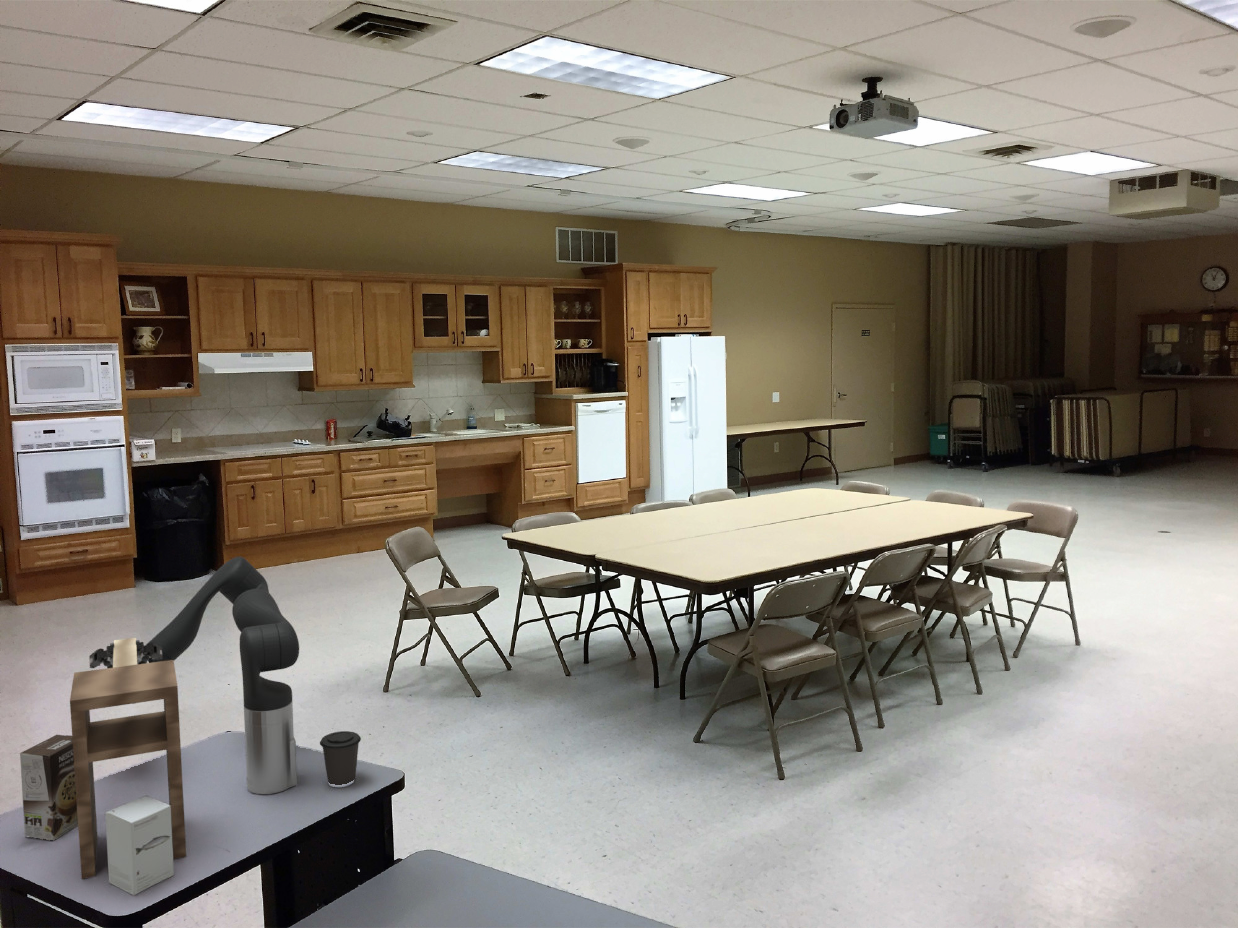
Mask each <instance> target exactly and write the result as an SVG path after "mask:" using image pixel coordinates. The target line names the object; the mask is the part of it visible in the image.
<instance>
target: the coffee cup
mask: <svg viewBox="0 0 1238 928" xmlns="http://www.w3.org/2000/svg"><path fill="white" fill-rule="evenodd" d="M361 741H362V737H361V736H360V734H359V733H357V732H354V731H350V730H347V731H346V730H344V731H335V732H332V733H328V734H326V735H324V736H323V737H321V740H320V741H319V745H320V747H321V748H322V751H323V759H324V765H325V766H324V767H325V770H326V778H327V779H326V780H327V783H328V782H329V783H330V784H335V785H342V784H347V783H349V782H351V781H353V780H354V779H355V780H356V778H355V777H356V776H357V775H356V774H357V765H358V754H359V744H360V742H361Z"/></svg>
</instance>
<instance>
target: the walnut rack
mask: <svg viewBox="0 0 1238 928" xmlns="http://www.w3.org/2000/svg"><path fill="white" fill-rule="evenodd" d="M72 677H73V679H72V684H71V689H70V690H71V691H70V697H69V707H70V709H69V710H70V723H71V724H70V725H71V736H72V741H73V756H74V771H75V786H76V801H77V816H78V825H77V827H78V829H77V830H78V831H77V832H78V842H79V843H78V845H79V857H80V859H79V860H80V861H79V862H80V873H81V874H80V875H81V879H82V880H83V879H89V878H93V877H96V872H97V871H96V869H97V852H98V848H97V847H98V824H97V823H98V821H97V820H98V819H97V808H96V793H95V792H96V791H95V777H94V762H95V763H96V762H100V761H106V760H112V759H119V758H120V759H121V758H124V757H130V756H135V755H136V756H137V755H143V754H149V753H155V752H162V751H165V753H166V766H167V767H166V768H167V771H166V773H167V785H168V786H167V787H168V805H170V806H171V825H172V846H173V860H177V859H181V858H182V859H183V858H186V857H187V847H186V846H187V845H186V843H187V841H186V825H185V807H184V806H185V805H184V789H183V788H184V787H183V786H184V785H183V767H182V766H183V765H182V747H181V746H182V745H181V731H180V730H181V729H180V710H179V708H180V707H179V706H180V705H179V693H178V692H179V691H178V689H179V687H178V680H177V674H176V668H175V660H169V661H161V662H153V663H149V662H147V663H145V664H138V665H130V666H122V667H114V668H107V667H106V668H102V669H101V668H99V669H94V670H93V669H92V670H86V671H78V672H74V673H73V676H72ZM161 700H163V710H162V711H155V712H150V713H141V714H136V715H135V714H134V715H131V716H130V715H129V716H124V717H122V716H121V717H117V718H108V719H103V720H97V721H91V713H90V712H91V711H92V710H98V709H105V708H112V707H113V708H114V707H118V706H120V707H121V706H126V705H135V704H140V703H147V702H153V701H161ZM134 703H135V704H134Z"/></svg>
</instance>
